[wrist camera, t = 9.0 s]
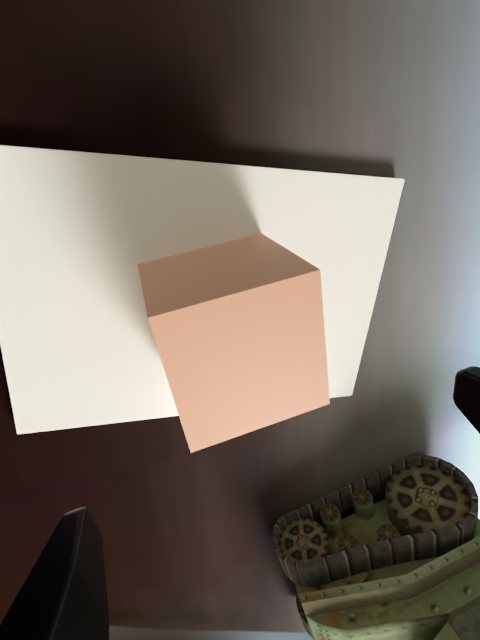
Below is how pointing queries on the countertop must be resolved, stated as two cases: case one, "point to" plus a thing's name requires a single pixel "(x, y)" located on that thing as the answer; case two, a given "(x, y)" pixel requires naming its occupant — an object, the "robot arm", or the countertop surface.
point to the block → (238, 336)
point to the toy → (388, 556)
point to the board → (151, 244)
